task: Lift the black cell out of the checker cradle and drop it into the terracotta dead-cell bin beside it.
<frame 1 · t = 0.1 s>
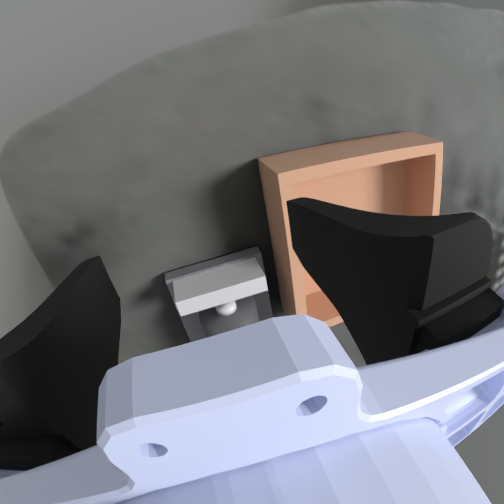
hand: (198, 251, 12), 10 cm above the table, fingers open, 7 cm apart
cell: (237, 344, 24), point 3 cm above the table, touching checker cradle
checker cradle: (228, 319, 26), on the table
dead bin: (347, 219, 25), on the table
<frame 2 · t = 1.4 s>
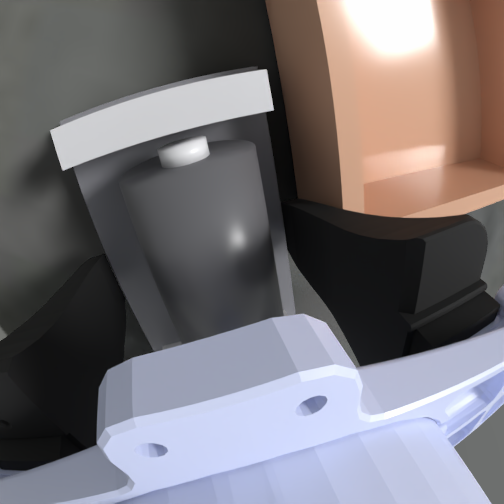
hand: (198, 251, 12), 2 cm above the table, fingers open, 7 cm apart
cell: (214, 267, 11), point 3 cm above the table, tilted 11°, touching checker cradle
checker cradle: (194, 232, 13), on the table
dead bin: (404, 58, 12), on the table
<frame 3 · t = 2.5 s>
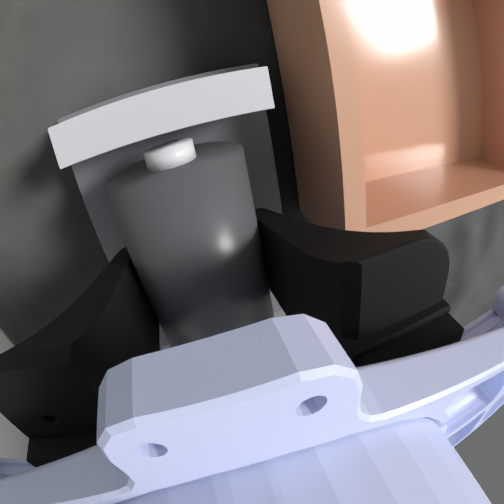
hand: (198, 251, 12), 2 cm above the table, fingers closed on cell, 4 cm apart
cell: (203, 271, 10), point 3 cm above the table, touching gripper
checker cradle: (193, 231, 13), on the table
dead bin: (406, 56, 11), on the table
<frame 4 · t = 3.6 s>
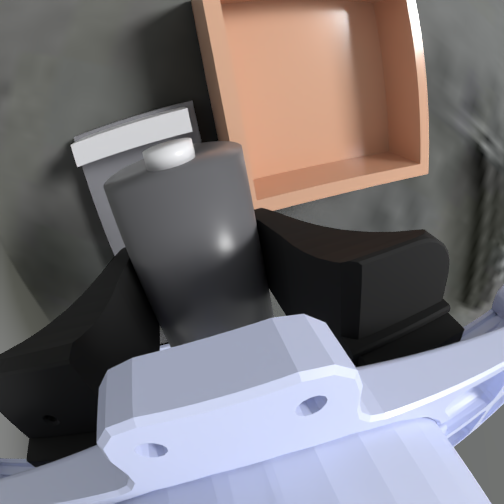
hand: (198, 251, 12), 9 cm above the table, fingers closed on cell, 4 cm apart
cell: (202, 271, 10), point 10 cm above the table, touching gripper
checker cradle: (157, 208, 20), on the table
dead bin: (309, 80, 18), on the table
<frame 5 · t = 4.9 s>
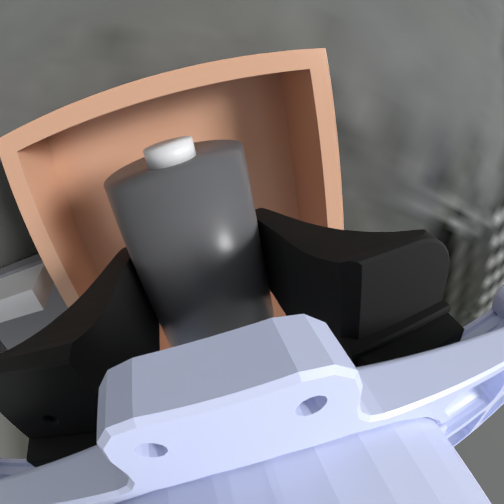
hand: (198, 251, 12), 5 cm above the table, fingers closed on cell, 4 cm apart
cell: (203, 270, 10), point 6 cm above the table, touching gripper
checker cradle: (56, 340, 17), on the table
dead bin: (186, 204, 16), on the table
when the fingers open (4 cm above the table, at t = 5.5 s): cell drops 3 cm, resting on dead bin.
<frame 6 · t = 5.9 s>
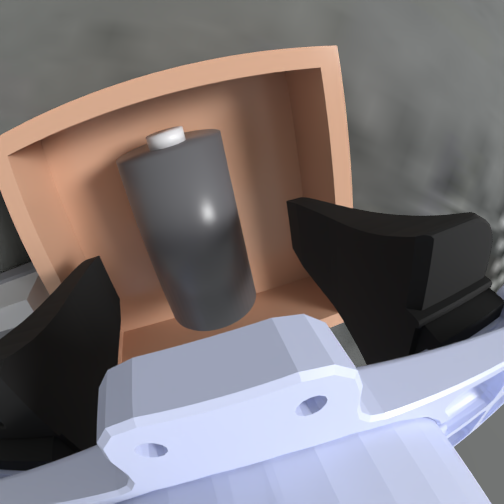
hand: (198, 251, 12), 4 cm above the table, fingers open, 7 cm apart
cell: (191, 231, 13), point 2 cm above the table, touching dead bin
checker cradle: (53, 349, 17), on the table
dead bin: (188, 210, 15), on the table
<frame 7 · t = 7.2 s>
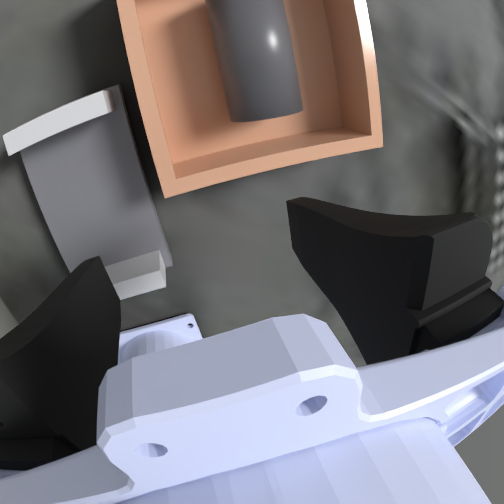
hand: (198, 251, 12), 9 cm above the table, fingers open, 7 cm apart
cell: (254, 49, 14), point 2 cm above the table, touching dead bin
checker cradle: (94, 194, 18), on the table
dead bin: (244, 54, 17), on the table
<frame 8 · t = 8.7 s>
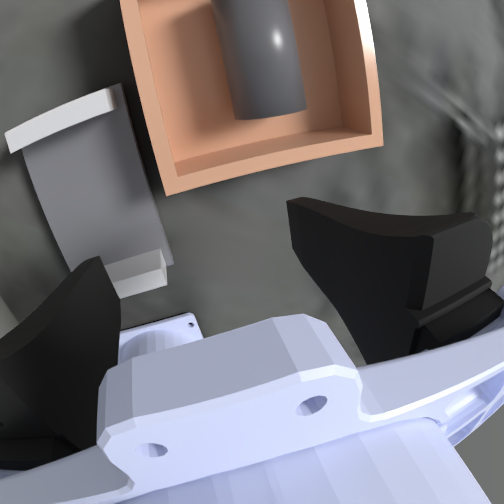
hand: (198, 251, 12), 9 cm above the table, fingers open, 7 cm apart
cell: (259, 48, 15), point 2 cm above the table, touching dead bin
checker cradle: (95, 192, 18), on the table
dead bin: (246, 54, 17), on the table
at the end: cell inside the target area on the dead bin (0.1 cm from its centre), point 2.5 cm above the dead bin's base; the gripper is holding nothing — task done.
